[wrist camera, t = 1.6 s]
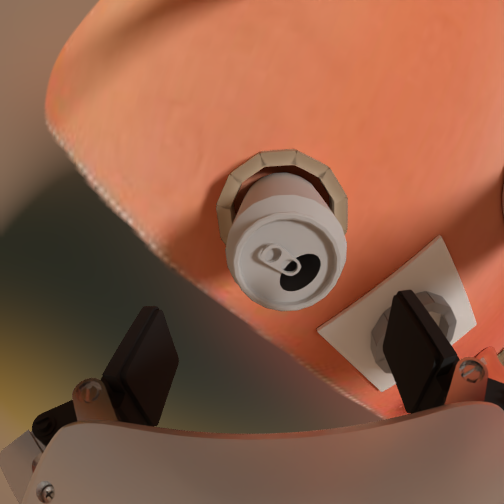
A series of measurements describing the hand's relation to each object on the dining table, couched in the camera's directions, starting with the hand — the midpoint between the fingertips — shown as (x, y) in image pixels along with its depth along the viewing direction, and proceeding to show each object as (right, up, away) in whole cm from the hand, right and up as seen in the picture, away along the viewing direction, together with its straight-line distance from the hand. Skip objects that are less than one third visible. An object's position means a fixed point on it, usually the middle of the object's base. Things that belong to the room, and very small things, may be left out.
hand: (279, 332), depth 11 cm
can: (+2, +7, +16) cm, 18 cm away
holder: (+19, -7, +20) cm, 29 cm away
